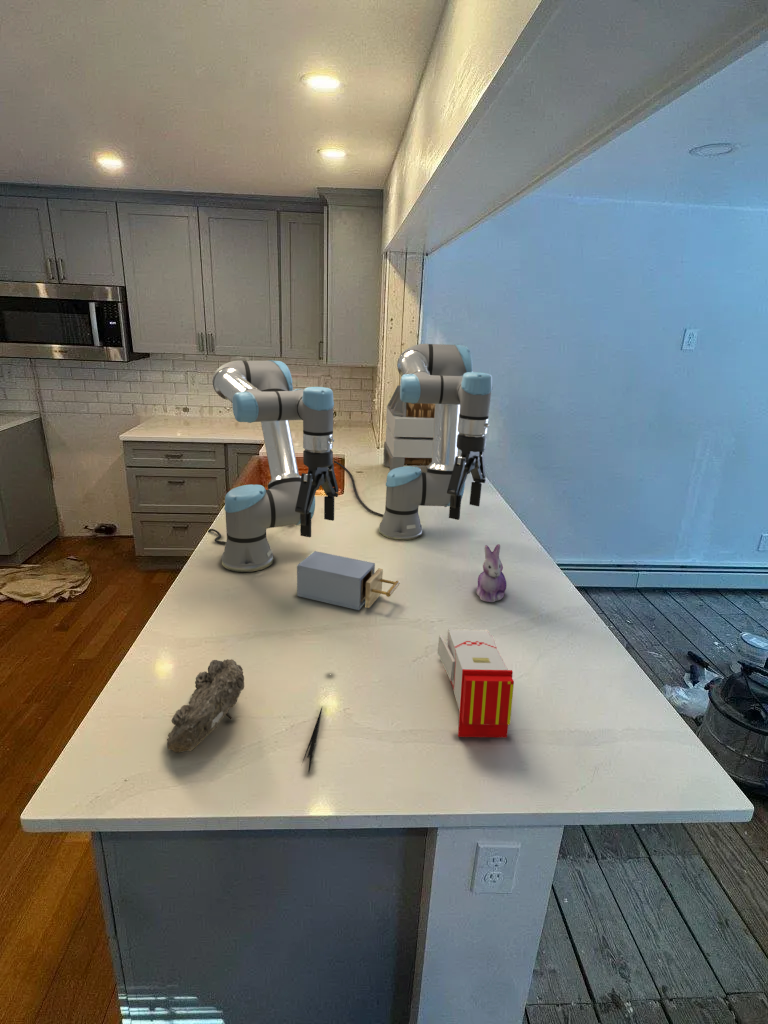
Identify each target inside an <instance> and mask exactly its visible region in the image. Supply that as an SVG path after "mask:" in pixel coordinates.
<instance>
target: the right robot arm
mask: <svg viewBox="0 0 768 1024" xmlns="http://www.w3.org/2000/svg"><path fill="white" fill-rule="evenodd" d="M396 367H397V371H398V374H399V375H400V384H399V385H400V399H401V401H402V402H406V403H412V404H415V403H425V404H435V413H434V431H433V449H432V462H431V464H429V465H428V466H426V471H422V469H421V468H420V467H419V466H407V465H404V467H398V468H395V469H392V470H391V471H390V470H388V473H387V475H386V482H385V487H386V488H385V489H386V490H385V504H384V505H385V507H384V508H385V509H384V513H380V512H377V511H374V510H373V509H371V508H370V507H368V506H367V505H366V504H365V503H364V501H362V499H361V498H360V496H359V494H358V492H357V489H356V485H355V480H354V477H353V475H352V474H351V472H350V471H349V469H348V468H347V467H346V466H344V465H343V464H342V463H340V462H338V461H337V460H333V463H334V464H336V465H338V466H340V467H341V468H342V469H344V471H346V472H347V473H348V475H349V477H350V479H351V484H352V488H353V491H354V492H353V493H354V495H355V497H356V498H357V500H358V502H359V503H360V504H361V505H362V506H363V507H364V508H365V509H366V510H367V511H368V512H370V513H372V514H374V515H376V516H379V517H382V519H381V522H379V527H378V533H379V534H380V535H381V536H382V537H385V538H387V539H389V540H395V541H410V540H415V539H418V538H420V537H421V536H422V535H423V525H422V524H421V518H420V515H419V507H444V508H447V507H449V509H448V519H452V520H456V521H459V520H460V517H461V507H462V499H463V496H464V493H465V492H464V491H465V489H466V487H465V486H466V480H467V478H468V475H469V474H471V477H472V481H471V483H470V484H471V485H470V494H469V495H470V496H469V506H473V507H480V506H481V505H480V504H481V494H482V485H483V484H485V483H486V478H487V475H486V465H485V463H486V462H485V450H486V446H487V435H486V434H488V428H489V427H490V423H489V416H490V409H491V408H490V407H491V398H492V391H493V376H492V374H490V373H487V372H480V371H473V368H474V367H473V357H472V352H471V350H470V349H469V347H468V346H466V345H460V344H443V343H442V344H441V343H439V344H438V343H419V344H415V345H412V346H410V347H408V348H406V349H405V350H403V351H402V352H401V353H400V354H399V357H398V358H397V361H396ZM458 449H460V450H461V451H462V453H461V457H459V456H457V451H458Z"/></svg>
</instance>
